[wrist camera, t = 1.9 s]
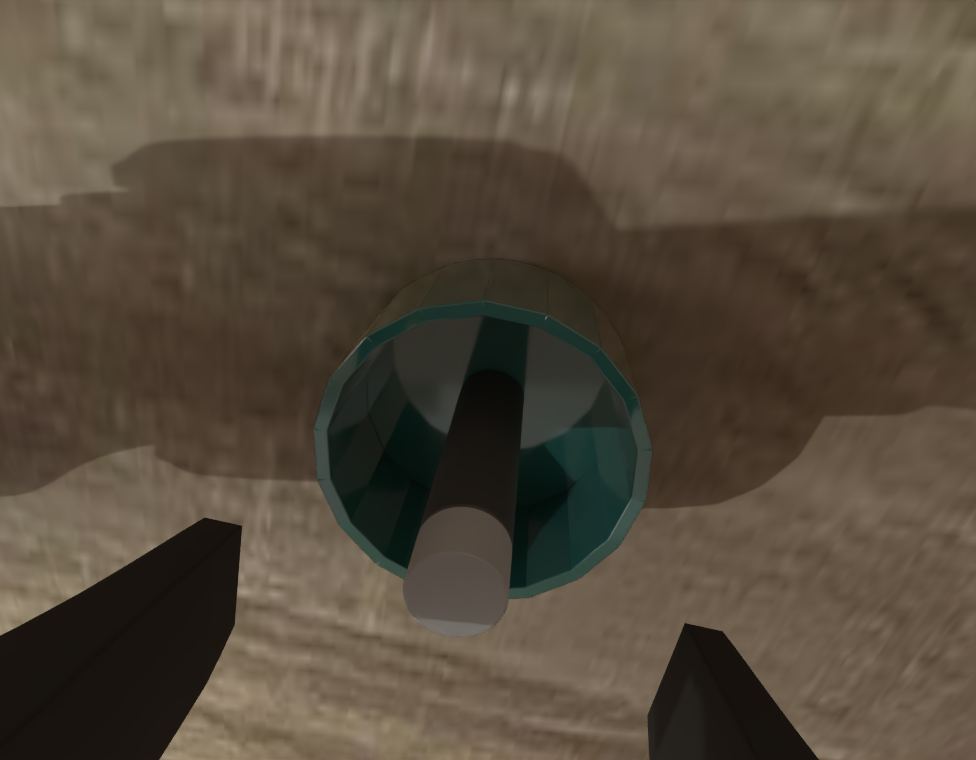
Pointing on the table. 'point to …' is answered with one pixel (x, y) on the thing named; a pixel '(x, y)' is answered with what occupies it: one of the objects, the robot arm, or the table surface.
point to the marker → (470, 514)
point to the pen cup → (545, 425)
